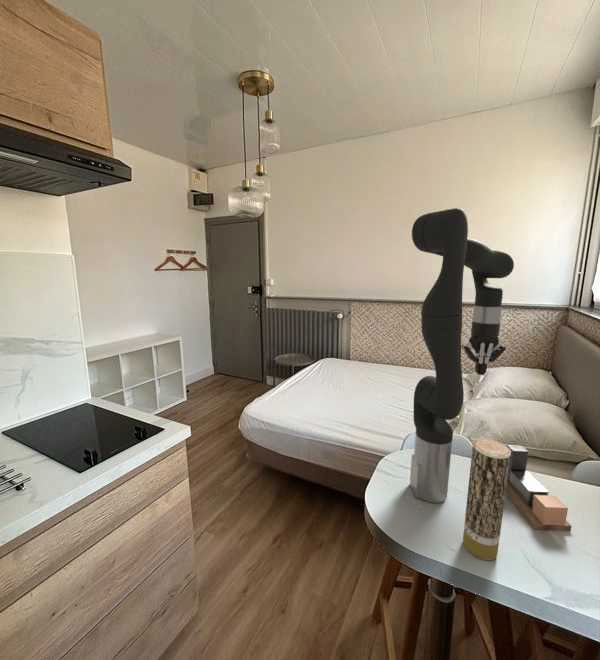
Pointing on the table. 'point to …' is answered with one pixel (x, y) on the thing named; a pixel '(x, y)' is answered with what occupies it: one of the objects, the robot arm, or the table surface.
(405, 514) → the table surface
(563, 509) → the socket
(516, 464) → the brushed grey metal block
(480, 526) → the bark covered log
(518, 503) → the guide board
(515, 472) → the outer sleeve
